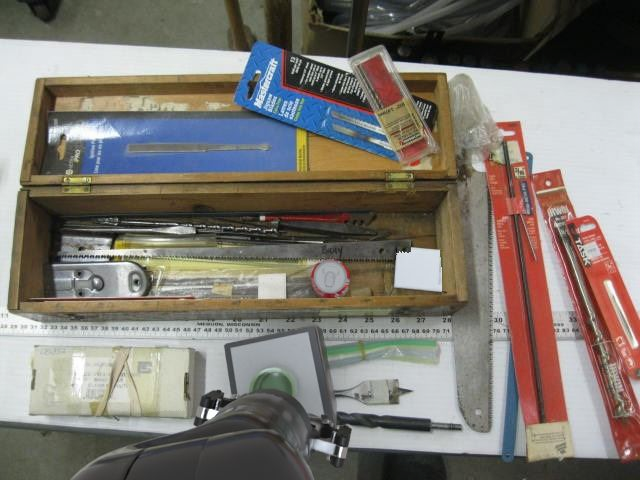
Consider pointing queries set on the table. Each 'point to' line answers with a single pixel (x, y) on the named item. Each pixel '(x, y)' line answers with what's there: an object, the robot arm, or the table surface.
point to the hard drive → (418, 270)
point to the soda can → (330, 279)
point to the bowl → (276, 380)
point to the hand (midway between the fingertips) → (284, 414)
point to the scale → (284, 350)
